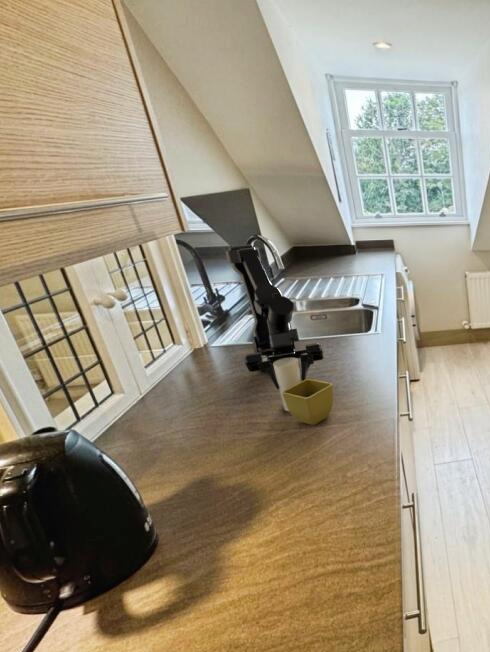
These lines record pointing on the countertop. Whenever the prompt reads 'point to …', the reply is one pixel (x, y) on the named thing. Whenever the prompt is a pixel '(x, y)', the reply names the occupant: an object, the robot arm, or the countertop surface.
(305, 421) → the flower pot
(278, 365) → the tall white cylinder
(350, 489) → the countertop surface
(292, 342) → the robot arm
